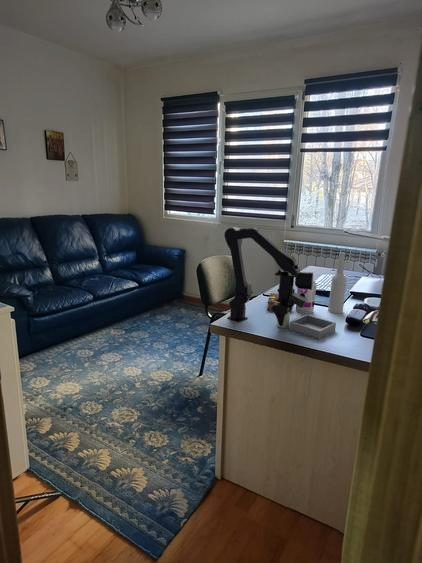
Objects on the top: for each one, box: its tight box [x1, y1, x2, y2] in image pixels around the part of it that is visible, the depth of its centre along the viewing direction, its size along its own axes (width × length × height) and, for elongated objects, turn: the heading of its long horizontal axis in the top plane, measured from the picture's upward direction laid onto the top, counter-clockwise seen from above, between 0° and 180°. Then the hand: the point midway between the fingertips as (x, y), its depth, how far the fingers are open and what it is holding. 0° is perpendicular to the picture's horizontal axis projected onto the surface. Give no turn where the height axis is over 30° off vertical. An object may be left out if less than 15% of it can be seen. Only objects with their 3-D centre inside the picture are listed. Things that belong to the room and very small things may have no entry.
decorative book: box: [266, 292, 293, 313], centre depth 173 cm, size 11×16×5 cm
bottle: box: [327, 251, 347, 315], centre depth 166 cm, size 7×7×28 cm
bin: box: [288, 314, 337, 340], centre depth 144 cm, size 13×13×4 cm
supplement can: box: [295, 279, 317, 314], centre depth 167 cm, size 8×8×15 cm
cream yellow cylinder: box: [276, 312, 291, 329], centre depth 148 cm, size 5×5×6 cm
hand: (283, 322), depth 149 cm, fingers open, 7 cm apart
